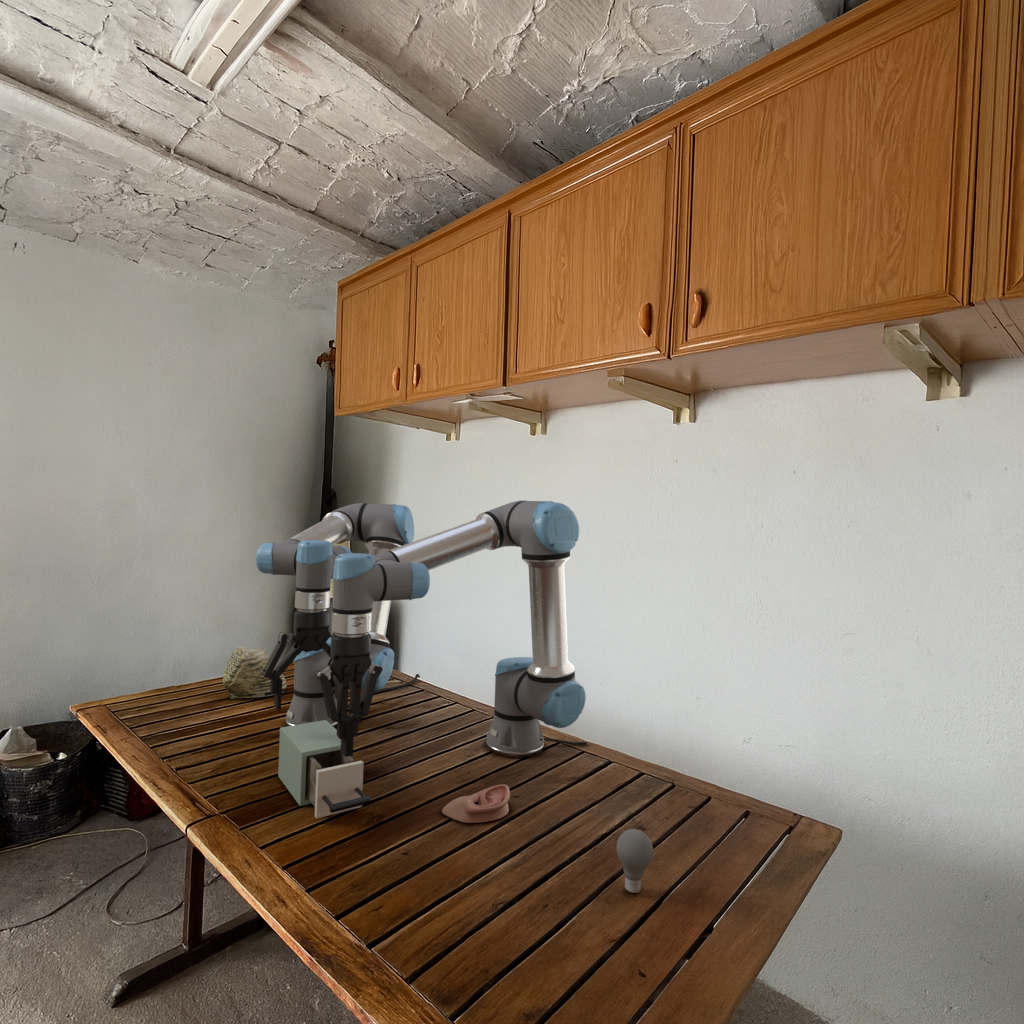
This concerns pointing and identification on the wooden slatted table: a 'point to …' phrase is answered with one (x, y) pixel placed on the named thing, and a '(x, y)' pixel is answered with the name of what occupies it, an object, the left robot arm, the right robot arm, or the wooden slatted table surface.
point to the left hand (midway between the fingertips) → (308, 703)
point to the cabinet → (303, 753)
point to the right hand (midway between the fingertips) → (346, 753)
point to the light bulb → (634, 857)
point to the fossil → (248, 674)
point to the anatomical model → (480, 805)
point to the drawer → (334, 783)
